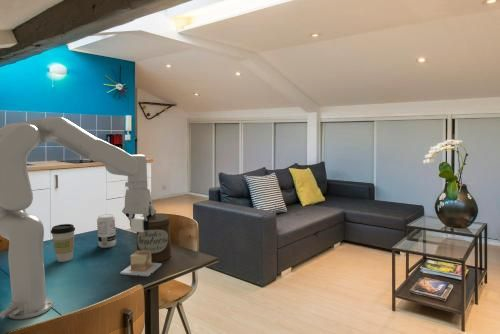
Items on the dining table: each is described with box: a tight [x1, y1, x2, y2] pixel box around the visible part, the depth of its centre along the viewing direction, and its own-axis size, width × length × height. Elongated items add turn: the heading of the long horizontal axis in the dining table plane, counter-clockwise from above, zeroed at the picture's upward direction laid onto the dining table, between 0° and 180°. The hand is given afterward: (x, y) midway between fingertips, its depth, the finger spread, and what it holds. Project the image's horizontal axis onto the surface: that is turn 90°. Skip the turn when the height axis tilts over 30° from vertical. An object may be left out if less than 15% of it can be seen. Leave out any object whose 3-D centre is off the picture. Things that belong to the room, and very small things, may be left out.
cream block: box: [130, 216, 144, 233], centre depth 151 cm, size 5×5×5 cm
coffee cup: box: [50, 223, 76, 262], centre depth 166 cm, size 10×10×15 cm
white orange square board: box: [120, 262, 163, 277], centre depth 153 cm, size 12×12×1 cm
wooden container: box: [136, 212, 172, 263], centre depth 167 cm, size 15×15×22 cm
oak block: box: [129, 250, 153, 271], centre depth 153 cm, size 6×6×6 cm
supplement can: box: [96, 213, 117, 249], centre depth 184 cm, size 8×8×15 cm
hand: (139, 228), depth 151 cm, fingers closed on cream block, 5 cm apart
